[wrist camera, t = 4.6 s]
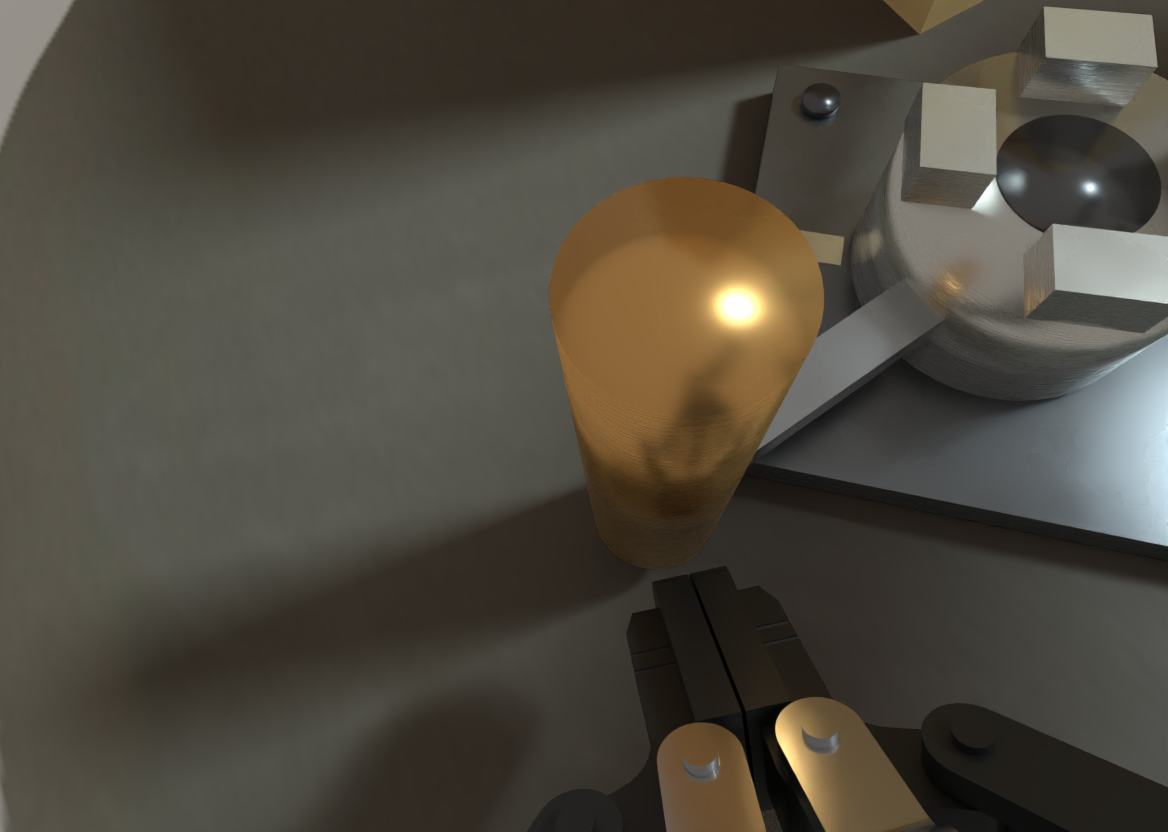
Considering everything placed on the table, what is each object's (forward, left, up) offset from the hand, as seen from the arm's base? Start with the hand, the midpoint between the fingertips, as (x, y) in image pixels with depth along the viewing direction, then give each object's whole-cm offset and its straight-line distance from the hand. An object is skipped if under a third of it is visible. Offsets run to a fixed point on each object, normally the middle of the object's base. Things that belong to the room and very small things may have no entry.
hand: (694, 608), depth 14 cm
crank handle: (-8, +4, -4) cm, 9 cm away
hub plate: (-12, +7, -5) cm, 14 cm away
